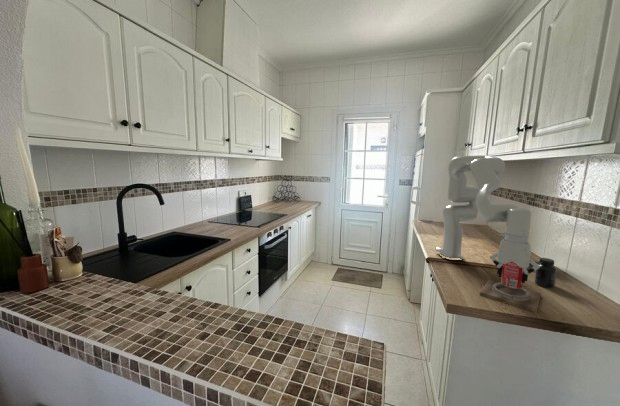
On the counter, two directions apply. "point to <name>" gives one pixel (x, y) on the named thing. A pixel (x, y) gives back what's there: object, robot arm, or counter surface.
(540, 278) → the supplement bottle
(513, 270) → the soda can
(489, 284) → the locating board
